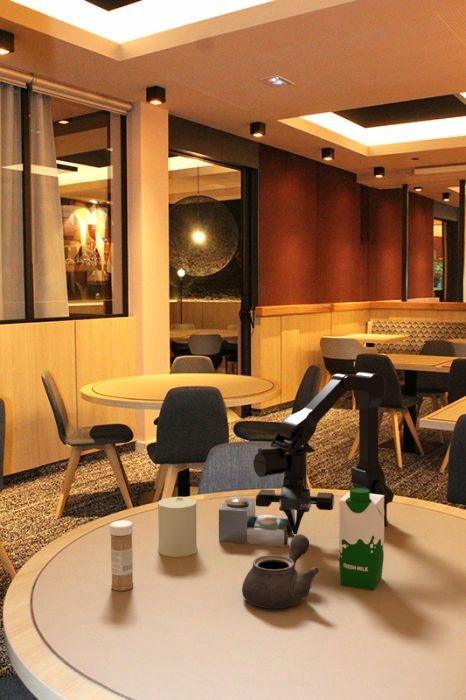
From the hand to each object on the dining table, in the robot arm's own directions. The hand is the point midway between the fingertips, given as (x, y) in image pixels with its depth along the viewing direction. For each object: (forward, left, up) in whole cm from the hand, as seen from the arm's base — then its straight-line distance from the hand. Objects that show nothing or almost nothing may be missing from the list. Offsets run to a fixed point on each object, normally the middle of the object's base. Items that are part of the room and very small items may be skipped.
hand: (295, 533), depth 175 cm
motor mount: (+10, 0, -1) cm, 10 cm away
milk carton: (-17, +23, -2) cm, 29 cm away
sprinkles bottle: (+31, +36, -2) cm, 48 cm away
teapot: (-2, +33, -2) cm, 33 cm away
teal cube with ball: (+7, +1, -2) cm, 7 cm away
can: (+26, +13, -2) cm, 29 cm away
